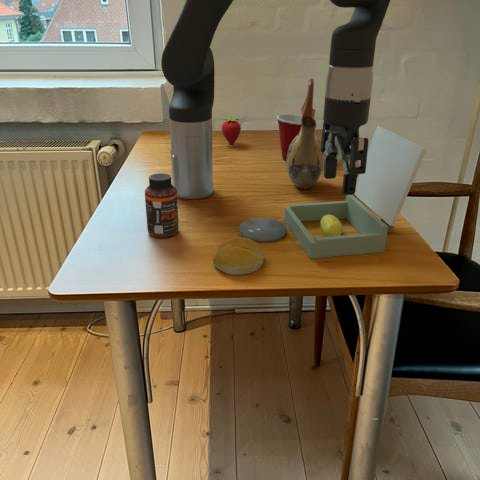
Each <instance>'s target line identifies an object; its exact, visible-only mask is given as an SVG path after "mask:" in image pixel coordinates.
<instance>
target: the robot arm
mask: <svg viewBox="0 0 480 480" xmlns="http://www.w3.org/2000/svg"><path fill="white" fill-rule="evenodd" d="M234 1H235V0H185V1H184V4H183V6H182V10H181V13H180V14H179V17H178V19H177V22H176V23H175V25H174V28H173V29H172V32H171V33H170V36H169V38H168V41H167V42H166V45H165V46H164V49H163V51H162V55H161V58H160V59H161V60H160V62H161V64H160V67H161V71H162V74H163V76H164V78H165V80H166V81H167V82H168V83H169V84H170V85H172V86H173V88H172V89H173V91H172V92H173V93H172V98H171V100H170V103H169V106H168V116H169V133H170V134H169V135H170V161H171V163H170V165H171V166H170V167H171V176H172V177H171V184H172V185H173V186H174V187H175V188H176V190H177V198H182V199H188V200H196V199H198V200H199V199H203V198H207V197H209V196H212V194H213V193H214V170H213V169H214V167H213V166H214V165H213V164H214V163H213V162H214V161H213V158H214V157H213V156H214V155H213V107H214V103H215V102H214V101H215V73H216V72H215V59H214V58H215V57H214V53H213V51H212V49H211V45H212V42H213V39H214V36H215V33H216V30H217V28H218V27H219V24H220V23H221V21H222V19H223V18H224V16H225V14H226V13H227V11H228V10H229V8H230V7H231V5H232V4H233V2H234ZM329 1H330V2H331V3H332V4H333V5H334V6H335V7H339V8H343V9H344V8H347V9H348V8H352V9H353V8H354V9H353V12H352V15H351V16H350V20H349V21H348V22H347V23H344V24H341V25H338V26H337V27H336V28H334V30H333V31H332V34H331V41H330V50H329V61H328V69H327V75H326V81H325V91H324V103H323V104H324V106H323V115H322V116H323V118H322V119H323V123H322V129H321V130H322V131H321V139H320V140H321V149H320V150H321V153H323V152H324V158H325V162H324V168H323V177H324V179H327V180H331V179H336V177H337V171H338V169H337V168H338V161H339V163H342V166H343V171H344V172H343V173H344V174H343V177H342V180H343V181H342V187H341V193H342V194H343V195H344V196H346V195H353V196H354V195H355V191H356V182H357V179H358V176H359V174H365V172H366V162H367V152H368V150H369V138H368V137H361V136H360V128H361V127H362V126H366V124H368V121H369V116H370V115H369V114H370V108H371V100H372V99H371V98H372V93H373V92H372V90H373V84H374V83H373V82H374V75H373V74H374V71H373V69H374V59H375V52H376V44H377V38H378V35H379V33H380V30H381V28H382V25H383V22H384V19H385V16H386V14H387V11H388V8H389V5H390V2H391V0H329Z"/></svg>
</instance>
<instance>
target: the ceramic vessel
mask: <svg viewBox="0 0 480 480" xmlns="http://www.w3.org/2000/svg"><path fill="white" fill-rule="evenodd" d="M314 83H315V82H314V78H309V80H308V84H307V85H308V86H307V91H306V92H307V93H306V97H305V100H304V102H303V104H302V107H301V109H300V110H301V115H302V119H301V130H300V132H299V134H298V135H297V136H296V137H295V138H294V139H293V140H292V142H291V144H290V146H289V149H288V152H287V159H286V161H285V162H286V170H287V174H288V178H289V179H290V182H291V183H292V184H293V185H294V186H296V187H297V188H298V189H303V190H305V189H310V188H311V187H313V186H314V185H315V184H316V183H317V182H318V181H319V179H320V177H321V176H322V174H323V172H324V169H325V158H324V152H323V153H321V150H320V149H321V139H320V138H319V137H318V136H317V135H316V127H317V120H316V119H315V114H316V109H315V108H313V104H314V103H313V102H314V91H315V90H314V85H315V84H314ZM315 120H316V121H315Z"/></svg>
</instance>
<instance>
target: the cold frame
mask: <svg viewBox="0 0 480 480" xmlns="http://www.w3.org/2000/svg"><path fill="white" fill-rule="evenodd" d="M359 200H360V199H359V198H357V197H355V195H354V194H353V195H345V200H337V201H323V202H310V203H309V202H307V203H295V204H294V203H293V204H289V206H286V207H285V206H284V215H283V216H284V217H283V221H284V223H285V224H286V226H287V228H288V230H290V232H291V234H292V235H293V236H294V238H295V239H296V241H297V242H298V244H299V245H300V247H301V248H302V250H303V251H304V252H305V254H306V255H307V256H308V258H309V259H311V260H312V259H321V258H332V257H342V256H344V257H345V256H354V255H365V254H375V253H385V246H386V242H387V237H388V233H387V231H388V226H387V225H386V224H385V223H383V222H382V221H381V218H379V216H377V214H374V213H373V211H371V209H370V208H369V207H368V206H366V205H364V203H363V202H362V201H361V200H360V201H359ZM328 214H330V215H333V216H335V217H336V218H337V219H338V220H340V219H345V220H347V221H348V222H349V223H350V225H351V226H352V227H354V229H355V230H356V231H357V232H358V233H355V234H345V235H342V234H341V236H330V237H325V236H320V237H315V238H314V237H313V236H312V235H311V233H310V232H309V230H308V229H307V227H305V226H304V224H303V223H302V222H312V221H313V222H314V221H321V220H322V218H323V217H324V216H325V215H328Z"/></svg>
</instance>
